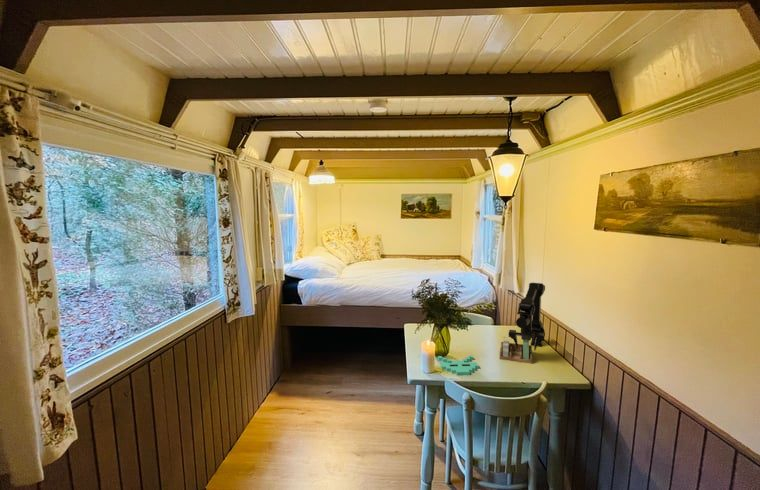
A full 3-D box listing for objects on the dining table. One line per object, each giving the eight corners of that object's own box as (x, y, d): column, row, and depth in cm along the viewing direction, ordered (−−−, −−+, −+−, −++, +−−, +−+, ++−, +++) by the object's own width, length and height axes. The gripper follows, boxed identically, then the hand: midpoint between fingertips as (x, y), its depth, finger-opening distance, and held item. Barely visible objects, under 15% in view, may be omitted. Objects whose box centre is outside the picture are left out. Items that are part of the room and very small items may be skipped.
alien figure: (437, 359, 195) (444, 376, 176) (437, 356, 195) (444, 372, 175) (472, 359, 195) (482, 375, 175) (472, 355, 195) (482, 371, 175)
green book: (523, 351, 198) (523, 338, 198) (528, 352, 197) (528, 339, 196) (522, 358, 189) (523, 345, 188) (528, 359, 188) (528, 345, 187)
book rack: (501, 349, 206) (501, 337, 205) (531, 353, 199) (531, 340, 198) (499, 359, 193) (499, 345, 192) (531, 363, 186) (532, 349, 185)
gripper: (508, 325, 188) (507, 352, 189) (545, 329, 180) (544, 357, 182) (509, 319, 198) (508, 345, 199) (544, 323, 190) (543, 349, 192)
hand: (525, 349), depth 193 cm, fingers open, 9 cm apart
